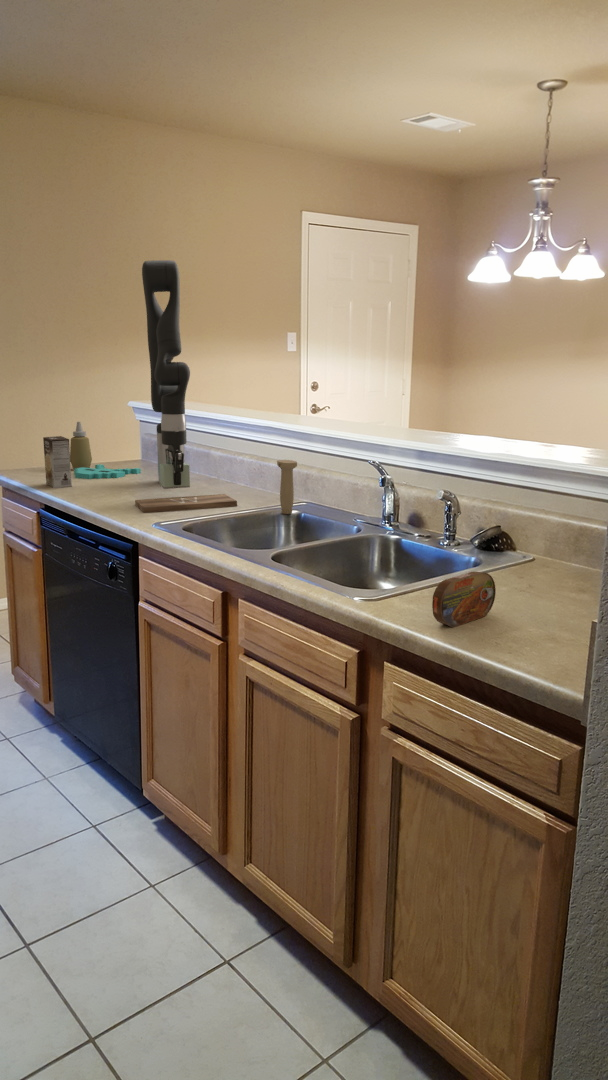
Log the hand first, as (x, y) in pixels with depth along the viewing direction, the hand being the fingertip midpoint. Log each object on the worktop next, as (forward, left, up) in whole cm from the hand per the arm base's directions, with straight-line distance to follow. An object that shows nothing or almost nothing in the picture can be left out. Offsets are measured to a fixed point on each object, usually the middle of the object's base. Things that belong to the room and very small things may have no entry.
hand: (175, 483), depth 250 cm
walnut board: (+12, 0, -5) cm, 13 cm away
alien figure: (-54, -14, -5) cm, 56 cm away
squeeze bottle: (-68, -19, -5) cm, 71 cm away
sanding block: (0, 0, -1) cm, 1 cm away
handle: (+33, +24, -5) cm, 41 cm away
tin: (+129, +19, -5) cm, 130 cm away
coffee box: (-36, -31, -5) cm, 48 cm away
